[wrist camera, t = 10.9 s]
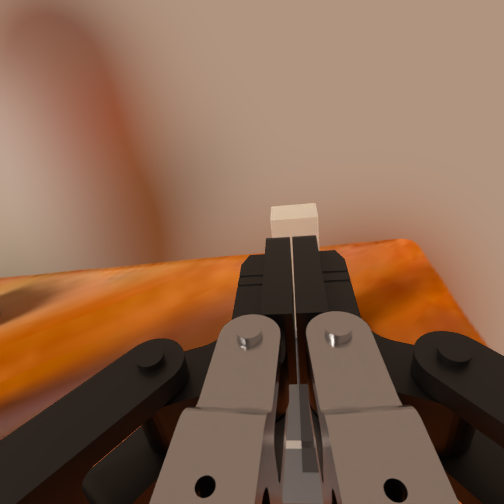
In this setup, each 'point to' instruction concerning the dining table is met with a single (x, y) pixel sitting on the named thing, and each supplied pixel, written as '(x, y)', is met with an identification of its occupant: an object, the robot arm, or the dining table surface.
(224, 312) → the dining table surface
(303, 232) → the beige tall block
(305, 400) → the fader board
